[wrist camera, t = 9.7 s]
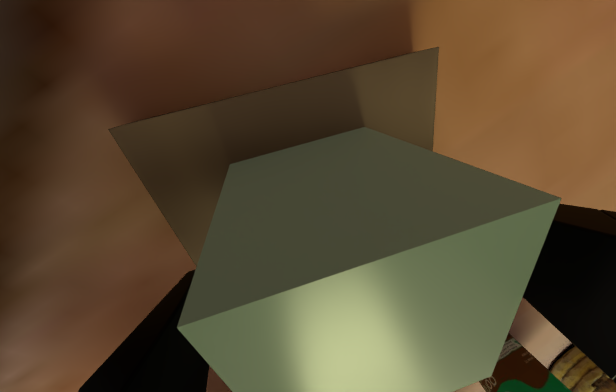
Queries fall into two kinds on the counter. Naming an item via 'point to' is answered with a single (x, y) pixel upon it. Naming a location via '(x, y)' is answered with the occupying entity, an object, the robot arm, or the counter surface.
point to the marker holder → (272, 131)
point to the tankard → (581, 373)
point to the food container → (520, 372)
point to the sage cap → (362, 268)
